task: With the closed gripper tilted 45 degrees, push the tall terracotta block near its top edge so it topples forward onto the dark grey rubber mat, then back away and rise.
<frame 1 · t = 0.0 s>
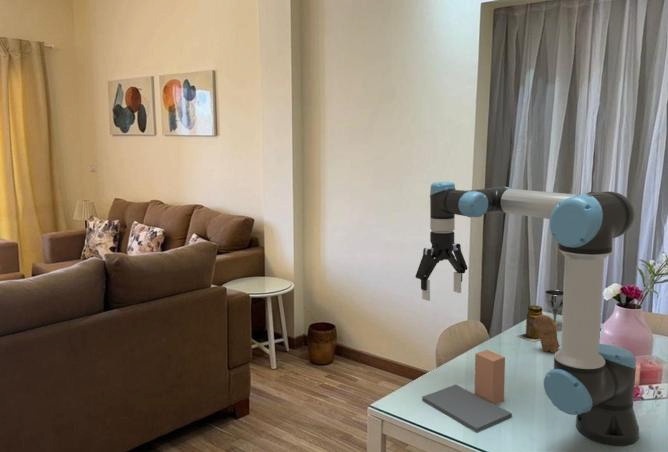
hand: (442, 295, 176), 28 cm above the table, tool pointing down, fingers open, 13 cm apart
rubber mat: (465, 408, 160), on the table
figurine: (545, 351, 199), on the table
wine glass: (554, 328, 222), on the table
tall block: (489, 399, 165), on the table
condiment: (532, 337, 214), on the table
kendama: (606, 338, 211), on the table
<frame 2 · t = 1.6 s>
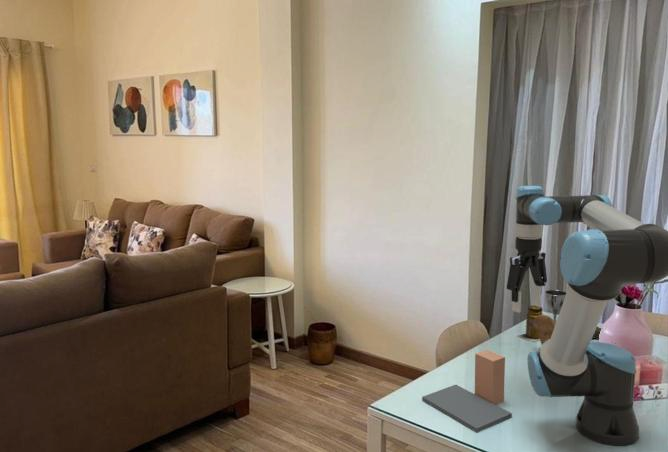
hand: (526, 308, 169), 25 cm above the table, tool pointing down, fingers open, 9 cm apart
nothing on the table moved.
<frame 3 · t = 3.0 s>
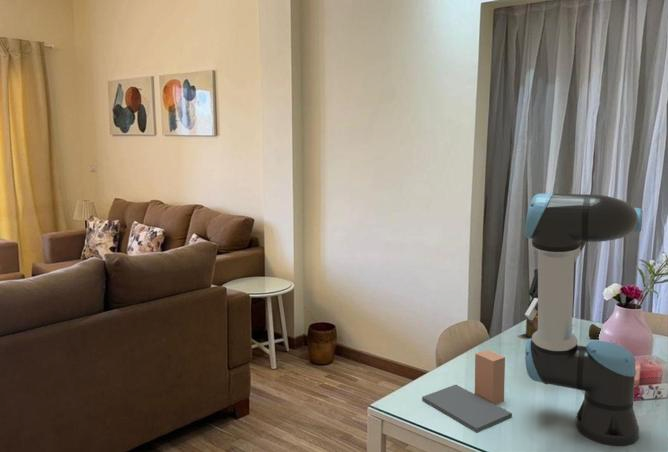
hand: (528, 317, 171), 22 cm above the table, tool tilted 45°, fingers closed
nothing on the table moved.
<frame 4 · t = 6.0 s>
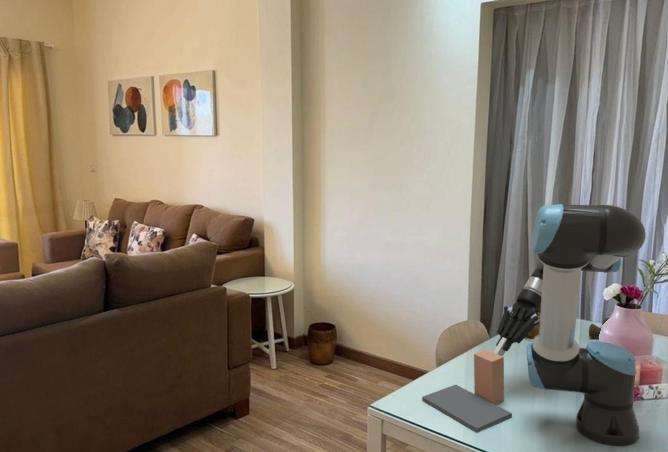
hand: (495, 357, 165), 12 cm above the table, tool tilted 45°, fingers closed
tall block: (489, 398, 165), on the table, touching gripper
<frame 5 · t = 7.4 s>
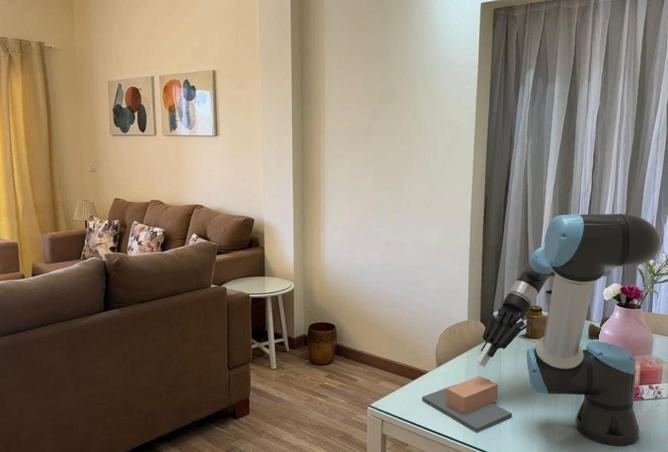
hand: (480, 363, 161), 12 cm above the table, tool tilted 45°, fingers closed
tall block: (488, 387, 165), point 4 cm above the table, tilted 90°, touching rubber mat
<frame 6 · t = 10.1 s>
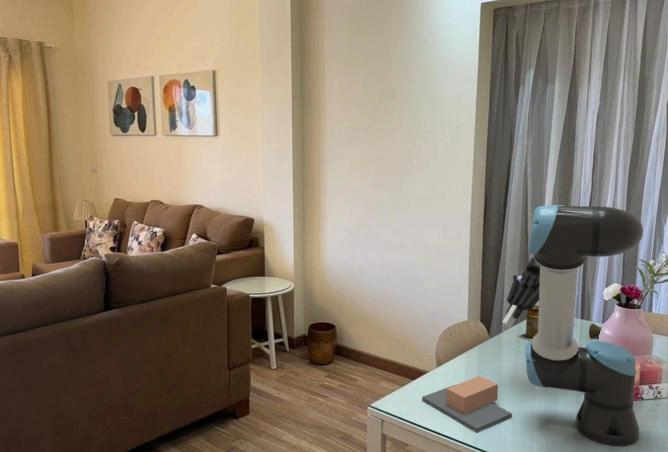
hand: (506, 325, 165), 22 cm above the table, tool tilted 45°, fingers closed
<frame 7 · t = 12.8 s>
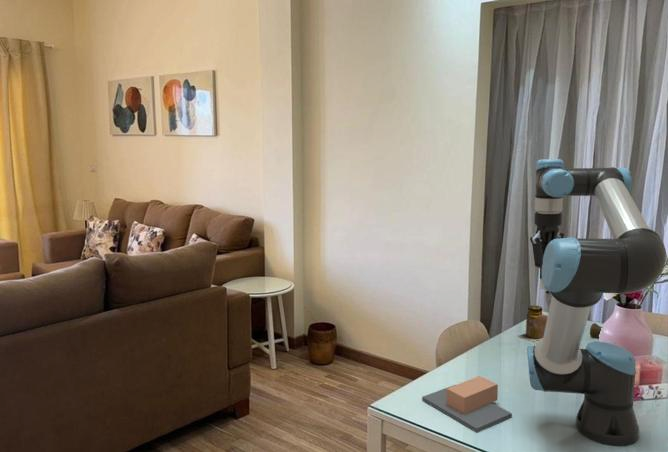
hand: (545, 288, 165), 32 cm above the table, tool pointing down, fingers closed
at the end: tall block tilted 90°; tall block touching rubber mat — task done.
